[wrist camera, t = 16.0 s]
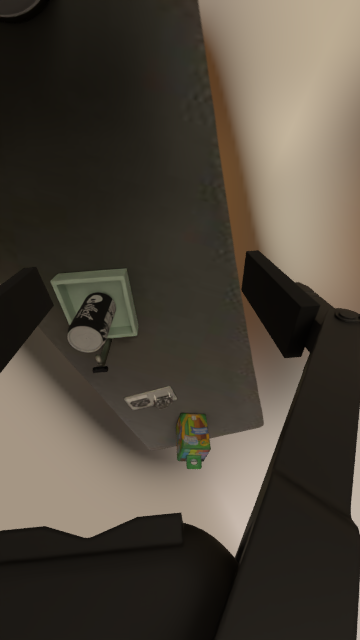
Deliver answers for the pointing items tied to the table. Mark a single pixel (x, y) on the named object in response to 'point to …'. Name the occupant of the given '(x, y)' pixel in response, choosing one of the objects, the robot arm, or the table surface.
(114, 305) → the beverage can
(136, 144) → the table surface
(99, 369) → the tap
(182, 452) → the chalk box
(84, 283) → the sink
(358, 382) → the robot arm
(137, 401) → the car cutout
